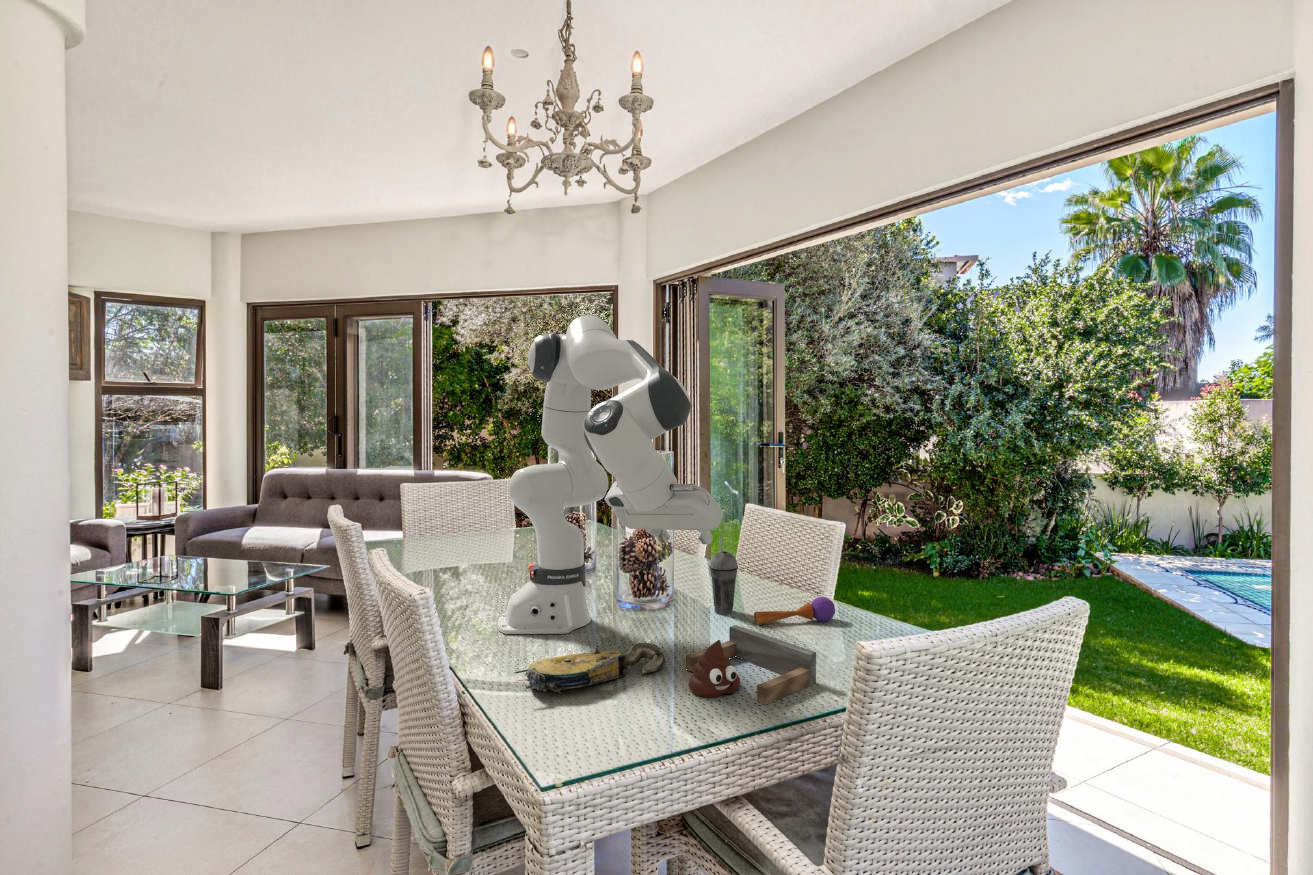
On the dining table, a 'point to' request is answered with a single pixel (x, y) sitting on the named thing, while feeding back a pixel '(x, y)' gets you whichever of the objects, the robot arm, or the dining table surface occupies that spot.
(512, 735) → the dining table surface
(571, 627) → the robot arm
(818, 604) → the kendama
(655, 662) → the pulley block
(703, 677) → the poop emoji
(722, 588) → the beverage cup
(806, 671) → the channel
